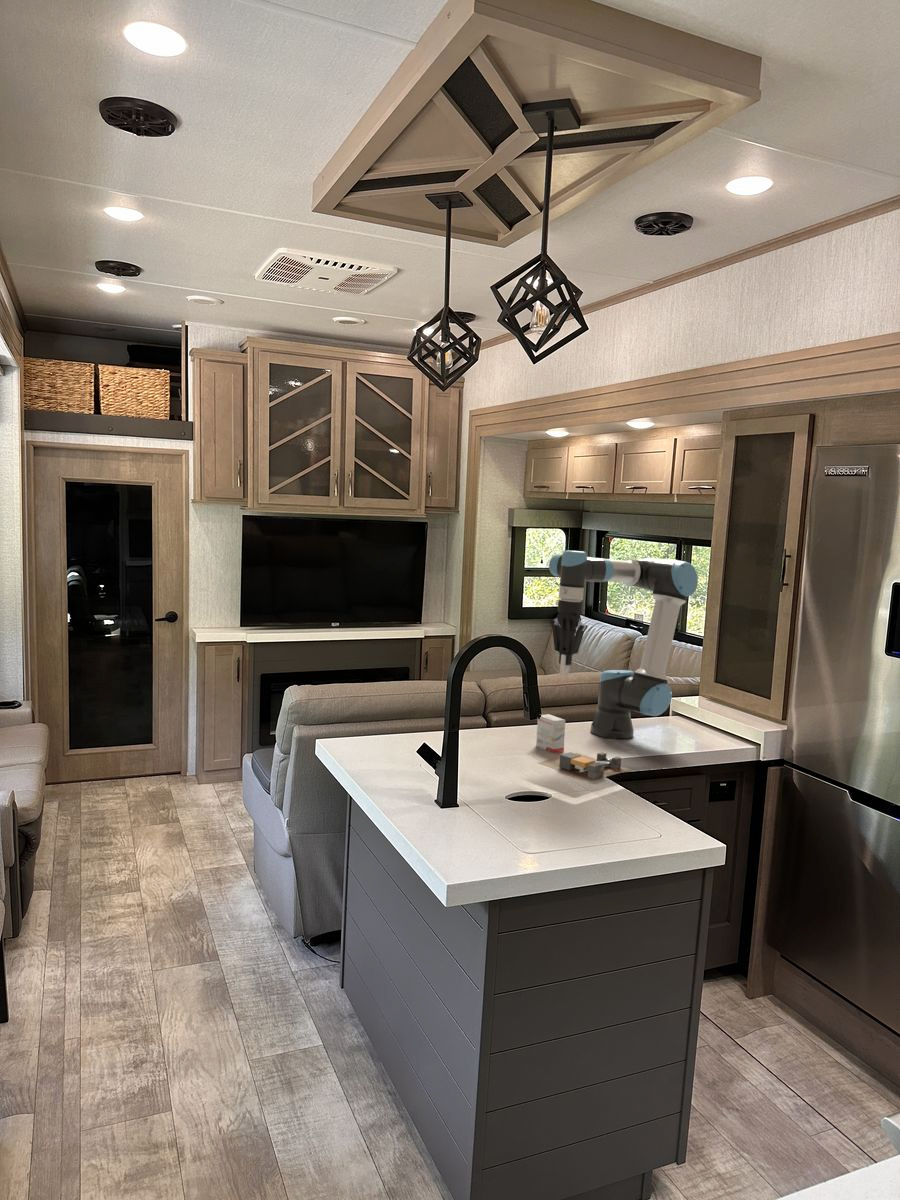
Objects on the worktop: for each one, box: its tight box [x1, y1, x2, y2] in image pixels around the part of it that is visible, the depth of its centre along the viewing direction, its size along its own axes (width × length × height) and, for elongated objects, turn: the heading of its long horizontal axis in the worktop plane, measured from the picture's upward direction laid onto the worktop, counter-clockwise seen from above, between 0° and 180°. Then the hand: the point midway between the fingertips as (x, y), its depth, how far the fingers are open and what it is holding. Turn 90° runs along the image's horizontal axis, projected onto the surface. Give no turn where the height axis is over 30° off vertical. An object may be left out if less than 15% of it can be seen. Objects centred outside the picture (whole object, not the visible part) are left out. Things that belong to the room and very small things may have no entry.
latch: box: [559, 751, 595, 771], centre depth 244 cm, size 5×9×4 cm, turn 45°
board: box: [537, 751, 631, 782], centre depth 250 cm, size 20×20×5 cm
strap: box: [575, 757, 612, 771], centre depth 247 cm, size 16×3×2 cm, turn 135°
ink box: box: [535, 713, 566, 754], centre depth 266 cm, size 9×5×12 cm, turn 33°
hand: (564, 674), depth 261 cm, fingers closed
